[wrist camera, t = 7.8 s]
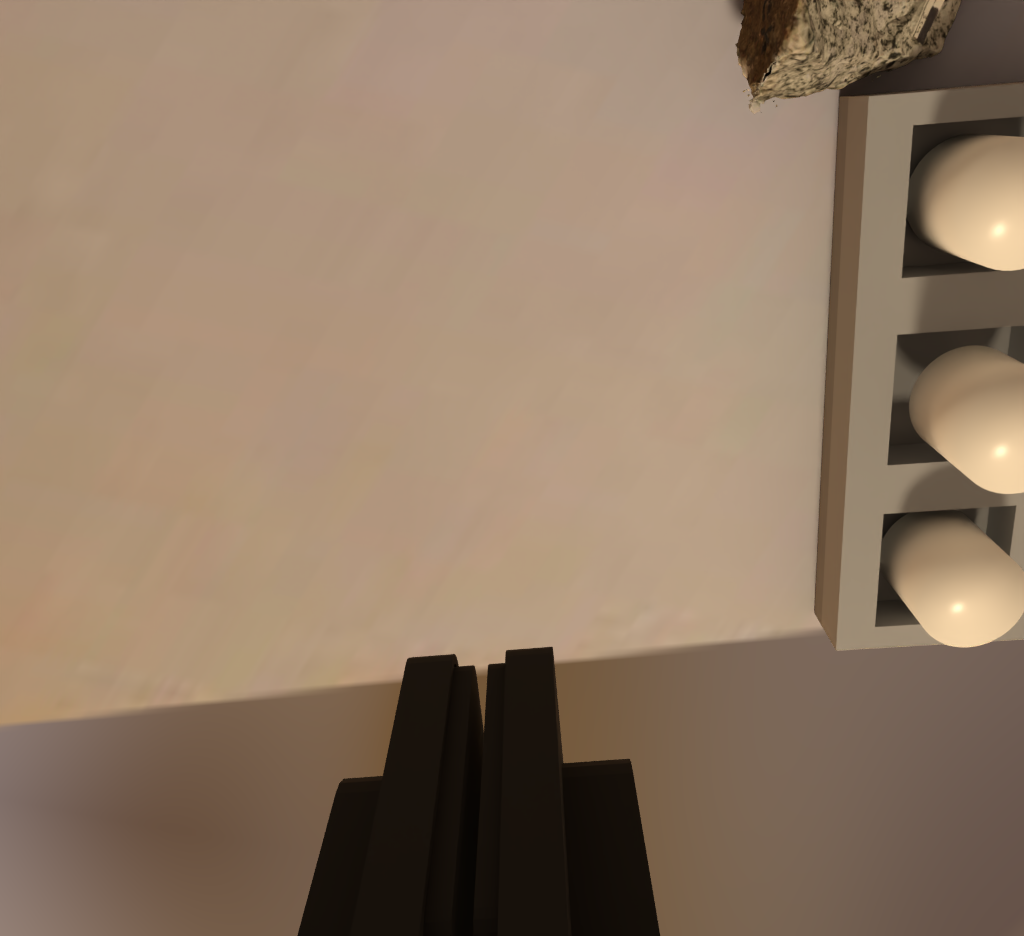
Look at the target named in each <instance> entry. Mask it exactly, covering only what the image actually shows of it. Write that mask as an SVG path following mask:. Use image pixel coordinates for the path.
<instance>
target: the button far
mask: <svg viewBox="0 0 1024 936" xmlns="http://www.w3.org/2000/svg"><path fill="white" fill-rule="evenodd" d="M880 568H881V571H882V573H883V575H884V577H885V578H886V579H887V581H888V582H889V583H890V585H891V586H892V587H893V589H894V590H895V591H896V593H897V594H898V595H899V597H900V598H901V599H902V601H903V602H904V603H905V604H906V606H907V607H908V608H909V610H910V611H911V612H912V614H913V615H914V616H915V618H916V619H917V620H918V622H919V623H920V624H921V625H922V627H923V628H924V629H925V631H926V632H927V633H928V634H929V635H930V636H931V637H933V638H934V639H935V640H937V641H939V642H941V643H943V644H946V645H950V646H954V647H974V646H979V645H983V644H986V643H989V642H991V641H993V640H995V639H997V638H999V637H1001V636H1002V635H1004V634H1005V633H1006V632H1008V631H1009V630H1010V629H1011V628H1012V627H1013V626H1014V625H1015V624H1016V623H1017V622H1018V620H1019V619H1020V617H1021V616H1022V614H1023V612H1024V571H1023V570H1022V568H1021V567H1020V566H1019V565H1018V564H1017V563H1016V562H1015V561H1014V560H1013V559H1012V558H1011V557H1010V556H1009V555H1007V554H1006V553H1005V552H1004V551H1003V550H1002V549H1001V548H1000V547H999V546H998V545H997V544H996V543H995V542H994V541H992V540H991V539H990V538H989V537H988V536H987V535H986V534H985V533H984V532H983V531H982V530H981V529H980V528H979V527H977V526H976V525H975V524H974V523H973V522H972V521H971V520H970V519H969V518H968V517H967V516H965V515H964V514H963V513H961V512H959V511H957V510H955V509H953V510H938V511H923V512H910V513H908V514H906V515H905V516H903V517H901V518H900V519H899V520H898V521H896V522H895V523H894V524H893V525H892V526H891V528H890V529H889V530H888V531H887V533H886V535H885V536H884V538H883V540H882V543H881V554H880Z"/></svg>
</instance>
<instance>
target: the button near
mask: <svg viewBox="0 0 1024 936" xmlns="http://www.w3.org/2000/svg"><path fill="white" fill-rule="evenodd" d="M906 215H907V219H908V222H909V224H910V226H911V228H912V230H913V231H914V233H915V234H916V235H917V237H918V238H919V239H920V240H922V241H923V242H924V243H925V244H927V245H929V246H930V247H933V248H935V249H937V250H940V251H943V252H946V253H948V254H951V255H954V256H957V257H960V258H962V259H965V260H968V261H971V262H974V263H976V264H979V265H982V266H985V267H988V268H991V269H995V270H1002V271H1013V270H1020V269H1024V137H1015V136H1001V135H987V134H964V135H959V136H956V137H953V138H950V139H948V140H945V141H944V142H942V143H940V144H938V145H937V146H936V147H934V148H933V149H932V150H931V151H930V152H928V153H927V154H926V155H925V156H924V158H923V159H922V160H921V161H920V162H919V164H918V165H917V167H916V168H915V170H914V172H913V174H912V175H911V178H910V181H909V187H908V200H907V213H906Z"/></svg>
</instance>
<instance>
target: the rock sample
mask: <svg viewBox="0 0 1024 936" xmlns="http://www.w3.org/2000/svg"><path fill="white" fill-rule="evenodd" d="M960 3H961V0H744V4H743V10H742V12H741V14H742V15H743V16H745V17H744V19H743V21H742V23H741V24H742V29H741V31H740V36H739V40H738V43H737V44H735V45H736V46H737V56H739V57H738V62H739V65H740V66H741V67H742V70H743V75H744V76H745V77H746V79H747V80H748V83H749V86H750V88H751V90H752V92H751V94H752V95H753V99H751V100H749V101H750V103H751V104H749V109H750V110H751V111H752V112H753V113H756V112H758V111H760V103H762V104H763V103H764V102H765V100H768V99H770V98H773V97H777V98H781V99H787V98H796V97H800V96H808V95H810V94H813V93H816V92H821V91H823V90H825V89H827V88H828V89H837V90H838V89H842V88H844V87H845V86H847V85H848V84H850V83H852V82H854V81H857V80H859V79H861V78H863V77H866V76H868V75H870V74H872V73H875V72H878V71H891V70H893V69H896V68H899V67H901V66H904V65H906V64H908V63H909V62H911V61H913V60H914V59H922V58H928V57H932V56H935V55H937V54H938V53H939V52H941V50H942V48H943V45H944V41H945V38H946V36H947V34H948V32H949V29H950V27H951V25H952V24H953V22H954V20H955V17H956V14H957V11H958V9H959V6H960ZM880 76H881V75H880ZM880 76H877V78H878V77H880ZM872 81H873V80H872ZM872 81H871V82H872ZM746 90H747V89H746ZM746 90H744V91H743V92H745V91H746ZM747 91H748V90H747ZM748 96H750V95H748ZM774 101H775V100H774ZM774 101H773V102H774ZM776 107H777V105H776ZM760 112H761V111H760Z"/></svg>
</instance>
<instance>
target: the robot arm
mask: <svg viewBox="0 0 1024 936" xmlns="http://www.w3.org/2000/svg"><path fill="white" fill-rule="evenodd" d="M298 936H660V933H659V926H658V921H657V915H656V908H655V902H654V896H653V890H652V884H651V878H650V872H649V866H648V860H647V854H646V848H645V843H644V836H643V830H642V824H641V818H640V812H639V806H638V800H637V795H636V788H635V782H634V776H633V770H632V765H631V761H630V759H619V760H606V761H591V762H578V763H563V754H562V743H561V733H560V721H559V710H558V699H557V688H556V678H555V666H554V655H553V647H544V648H531V649H518V650H506V657H505V663H500V664H489V665H488V675H487V693H486V710H485V726H484V731H483V723H482V715H481V708H480V699H479V692H478V683H477V676H476V670H475V667H474V666H460V667H459V666H458V661H457V657H456V655H455V654H451V655H438V656H425V657H412V658H408V659H407V662H406V666H405V671H404V676H403V681H402V686H401V690H400V696H399V700H398V705H397V710H396V715H395V720H394V725H393V730H392V734H391V739H390V744H389V749H388V754H387V758H386V763H385V769H384V773H383V776H377V777H364V778H348V779H343V781H341V782H340V783H339V786H338V789H337V791H336V795H335V798H334V802H333V806H332V809H331V813H330V817H329V820H328V824H327V828H326V832H325V835H324V839H323V843H322V847H321V851H320V854H319V858H318V861H317V865H316V869H315V873H314V876H313V880H312V884H311V887H310V891H309V895H308V899H307V902H306V906H305V910H304V913H303V917H302V921H301V925H300V928H299V932H298Z"/></svg>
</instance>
